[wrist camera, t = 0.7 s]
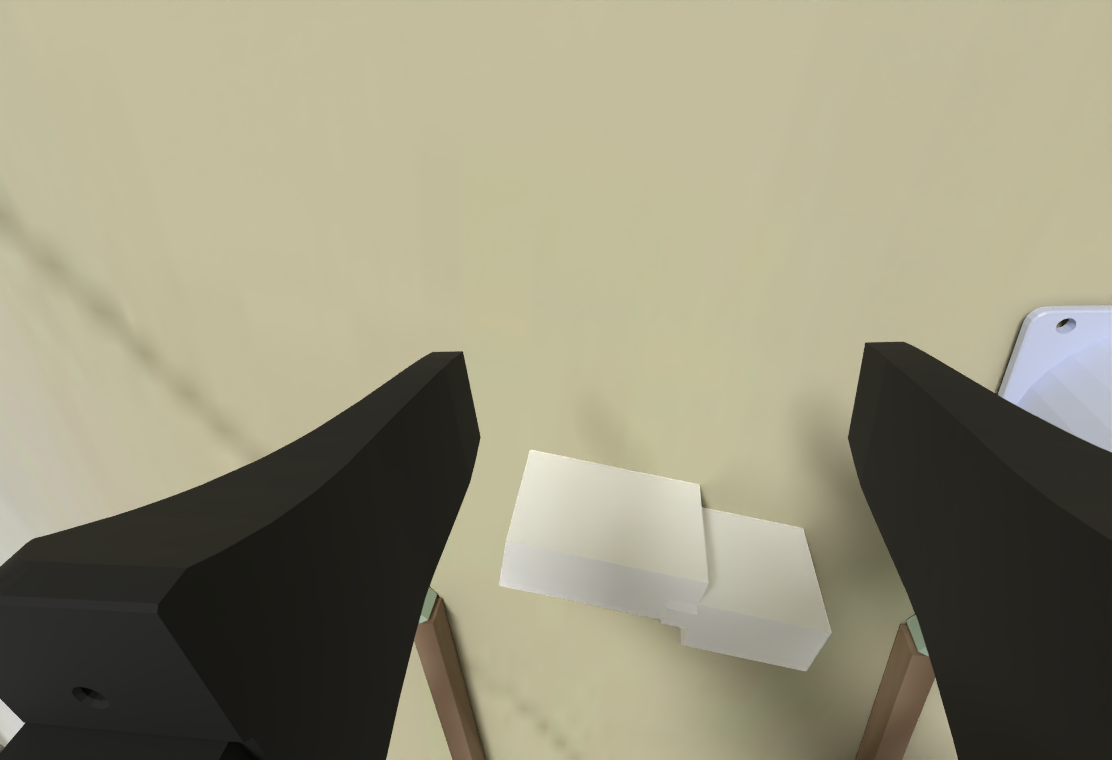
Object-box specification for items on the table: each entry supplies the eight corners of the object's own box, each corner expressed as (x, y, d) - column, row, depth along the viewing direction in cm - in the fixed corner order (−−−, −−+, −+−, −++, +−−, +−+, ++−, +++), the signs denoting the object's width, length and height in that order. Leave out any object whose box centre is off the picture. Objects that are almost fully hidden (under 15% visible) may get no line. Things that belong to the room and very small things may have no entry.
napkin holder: (449, 463, 27) (404, 570, 22) (664, 311, 21) (667, 406, 17) (666, 649, 31) (669, 769, 27) (883, 561, 26) (935, 690, 22)
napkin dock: (1019, 560, 25) (1052, 614, 23) (892, 841, 38) (906, 892, 35) (352, 532, 29) (328, 575, 27) (444, 793, 42) (434, 836, 40)
